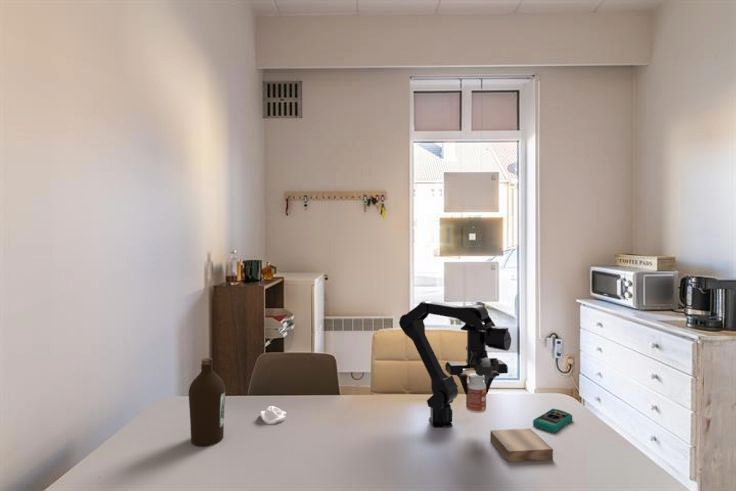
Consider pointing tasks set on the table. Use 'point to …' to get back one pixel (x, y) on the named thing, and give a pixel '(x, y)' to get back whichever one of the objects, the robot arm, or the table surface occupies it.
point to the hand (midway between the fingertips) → (476, 394)
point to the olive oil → (207, 406)
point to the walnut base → (521, 445)
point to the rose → (273, 415)
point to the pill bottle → (476, 394)
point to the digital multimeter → (552, 420)
